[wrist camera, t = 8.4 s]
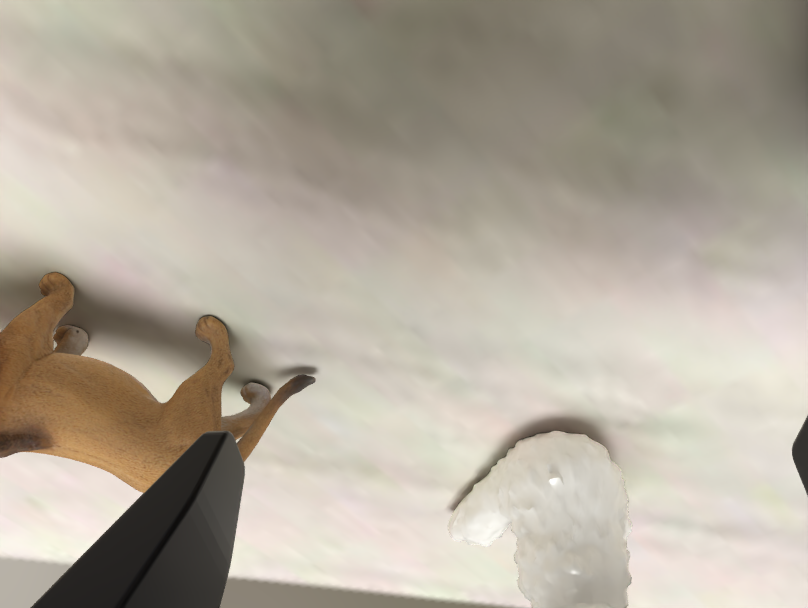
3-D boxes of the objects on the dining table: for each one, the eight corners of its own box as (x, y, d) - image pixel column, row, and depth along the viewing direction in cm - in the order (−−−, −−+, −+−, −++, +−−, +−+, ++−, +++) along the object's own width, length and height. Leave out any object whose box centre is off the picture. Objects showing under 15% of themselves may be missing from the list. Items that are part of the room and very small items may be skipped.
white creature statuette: (446, 516, 31) (459, 798, 21) (459, 409, 26) (484, 716, 16) (616, 521, 31) (706, 806, 21) (663, 415, 26) (810, 727, 16)
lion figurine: (-25, 347, 24) (-216, 540, 17) (-54, 244, 21) (-303, 426, 14) (309, 408, 26) (267, 606, 19) (327, 321, 23) (284, 518, 16)
